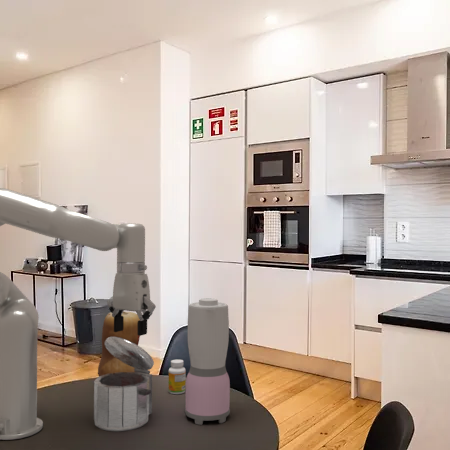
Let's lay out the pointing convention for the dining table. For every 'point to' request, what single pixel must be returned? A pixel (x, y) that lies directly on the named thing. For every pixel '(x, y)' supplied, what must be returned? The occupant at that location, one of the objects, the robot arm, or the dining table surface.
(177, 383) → the supplement bottle
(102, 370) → the butternut squash
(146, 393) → the pot
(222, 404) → the blender
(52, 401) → the dining table surface
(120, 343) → the lid
